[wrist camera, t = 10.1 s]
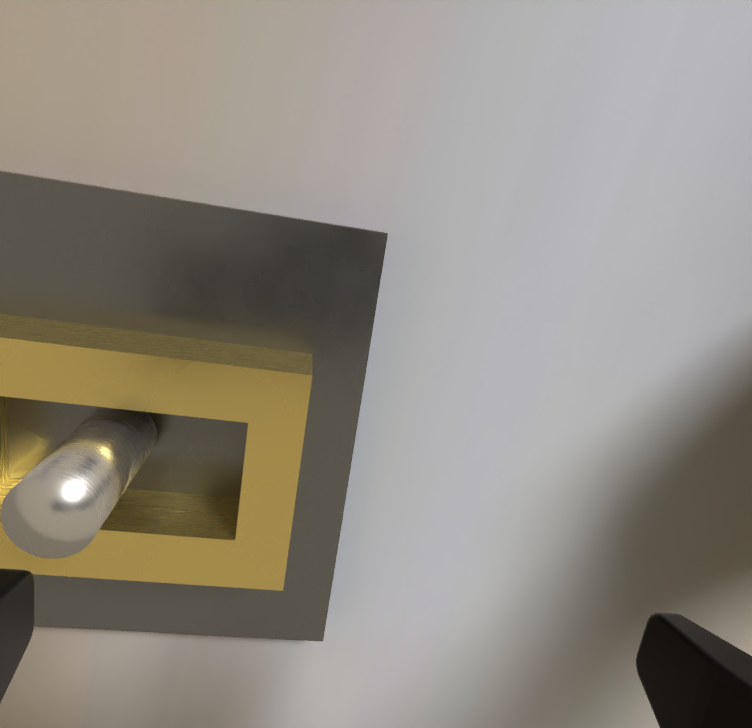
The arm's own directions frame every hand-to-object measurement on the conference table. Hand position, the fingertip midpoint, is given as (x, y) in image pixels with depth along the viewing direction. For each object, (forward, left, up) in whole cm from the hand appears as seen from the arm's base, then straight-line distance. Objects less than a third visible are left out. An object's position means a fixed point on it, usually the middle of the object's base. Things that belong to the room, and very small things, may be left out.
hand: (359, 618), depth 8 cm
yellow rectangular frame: (+6, +2, -10) cm, 12 cm away
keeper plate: (+6, +2, -11) cm, 13 cm away
